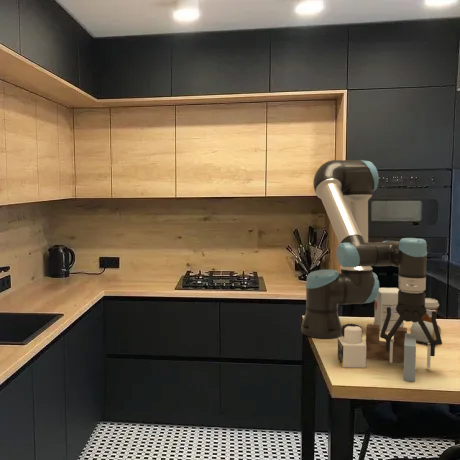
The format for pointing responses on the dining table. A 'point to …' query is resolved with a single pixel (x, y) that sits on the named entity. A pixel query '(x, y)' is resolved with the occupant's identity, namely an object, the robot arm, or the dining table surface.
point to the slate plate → (409, 357)
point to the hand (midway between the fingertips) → (409, 363)
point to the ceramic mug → (420, 334)
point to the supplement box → (381, 302)
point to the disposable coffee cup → (430, 308)
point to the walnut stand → (384, 344)
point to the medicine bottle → (351, 347)
